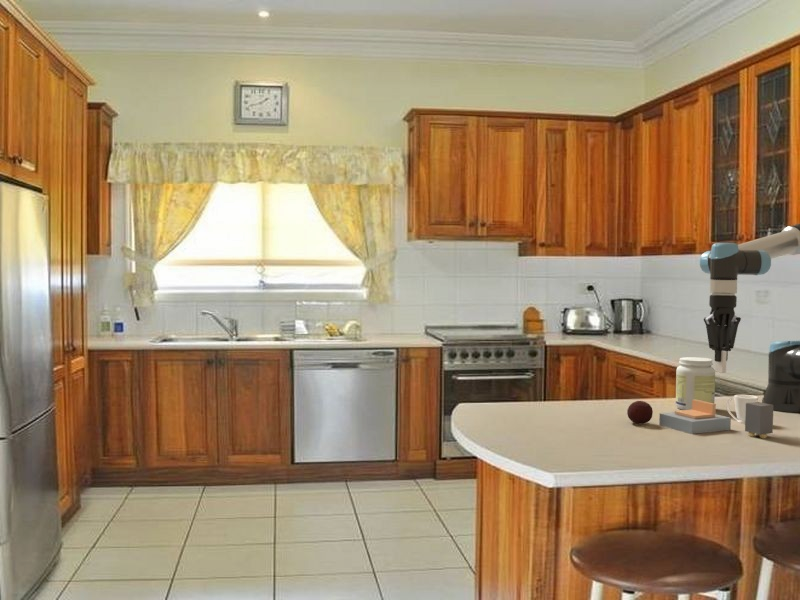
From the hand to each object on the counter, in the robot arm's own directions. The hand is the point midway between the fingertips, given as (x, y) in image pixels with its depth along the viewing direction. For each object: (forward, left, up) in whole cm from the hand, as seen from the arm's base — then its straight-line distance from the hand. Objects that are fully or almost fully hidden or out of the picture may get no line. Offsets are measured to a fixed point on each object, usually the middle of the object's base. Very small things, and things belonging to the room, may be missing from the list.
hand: (720, 372), depth 232 cm
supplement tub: (-12, -22, -16) cm, 30 cm away
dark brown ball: (+22, -10, -16) cm, 29 cm away
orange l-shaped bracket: (+10, 0, -12) cm, 16 cm away
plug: (+2, +16, -16) cm, 23 cm away
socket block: (+10, 0, -16) cm, 19 cm away
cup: (-10, -1, -16) cm, 19 cm away
